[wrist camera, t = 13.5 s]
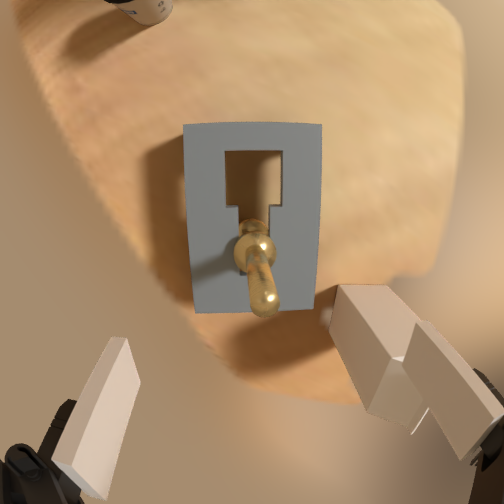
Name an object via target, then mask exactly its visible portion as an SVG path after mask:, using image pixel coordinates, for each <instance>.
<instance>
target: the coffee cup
mask: <svg viewBox="0 0 504 504" xmlns="http://www.w3.org/2000/svg"><path fill="white" fill-rule="evenodd" d="M104 1H106V2H108V3H112V4H114V5H115V6H116V7H118V8H119V9H121V10H122V11H123V12H125V13H126V14H127V15H129V16H130V17H132V18H133V19H134V20H136V21H137V22H138V23H140V24H141V25H146V26H149V25H155V24H158V23H160V22H162V21H164V20H165V19H166V18H167V17H168V16H169V15H170V13H171V12H172V8H173V6H172V0H104Z"/></svg>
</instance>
